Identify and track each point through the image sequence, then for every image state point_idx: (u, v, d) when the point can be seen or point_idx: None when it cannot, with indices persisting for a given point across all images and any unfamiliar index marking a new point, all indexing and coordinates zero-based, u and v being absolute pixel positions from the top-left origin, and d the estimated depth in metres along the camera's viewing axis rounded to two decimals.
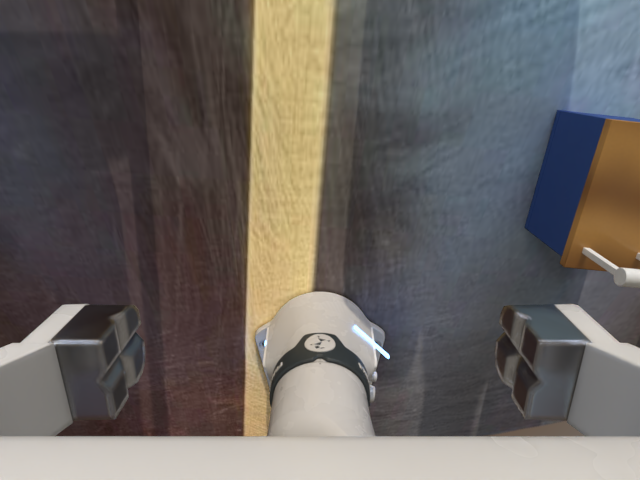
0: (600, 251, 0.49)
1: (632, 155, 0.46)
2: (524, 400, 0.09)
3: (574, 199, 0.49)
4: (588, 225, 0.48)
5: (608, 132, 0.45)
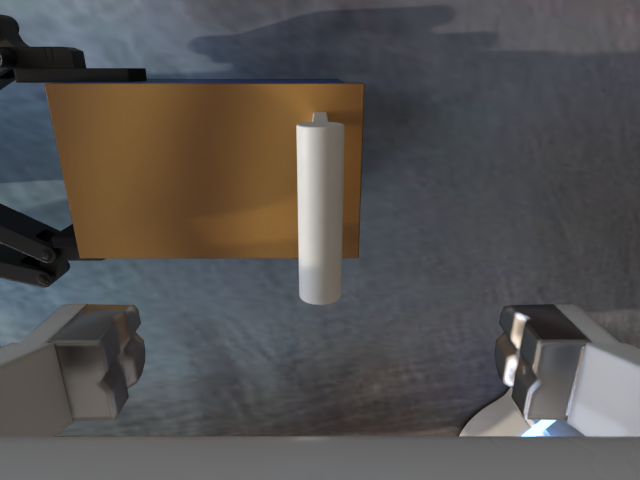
0: None
1: (127, 204, 0.25)
2: (525, 401, 0.09)
3: None
4: (270, 239, 0.25)
5: None
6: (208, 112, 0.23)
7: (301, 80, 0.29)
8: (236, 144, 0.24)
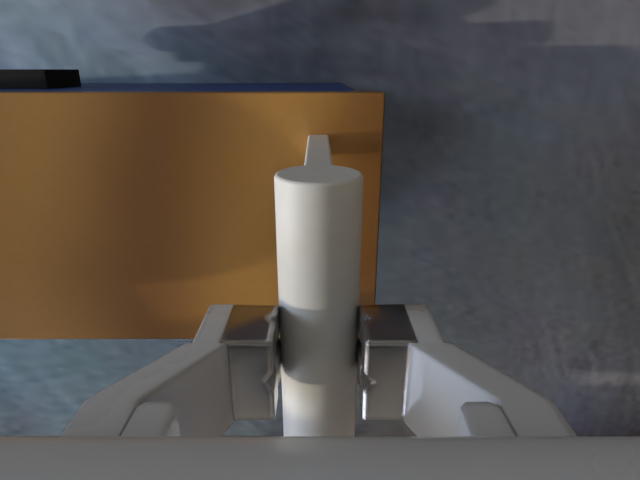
0: None
1: (39, 266, 0.17)
2: (362, 400, 0.09)
3: None
4: None
5: (7, 338, 0.18)
6: (151, 135, 0.15)
7: (293, 85, 0.22)
8: (194, 182, 0.16)
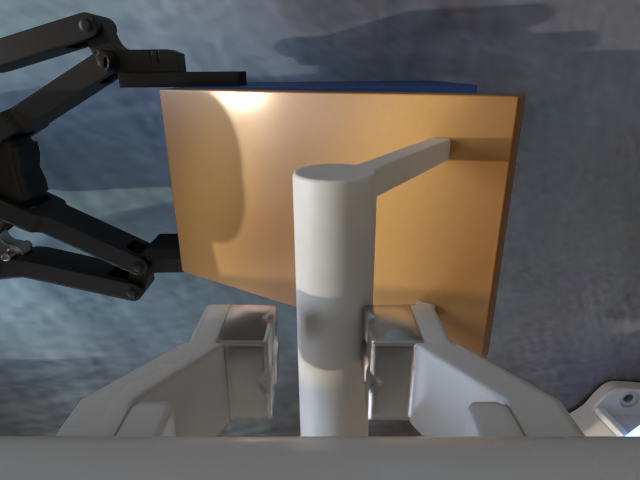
0: (429, 270, 0.17)
1: (219, 225, 0.22)
2: (368, 400, 0.09)
3: None
4: None
5: (197, 275, 0.24)
6: (299, 129, 0.18)
7: (404, 82, 0.28)
8: None
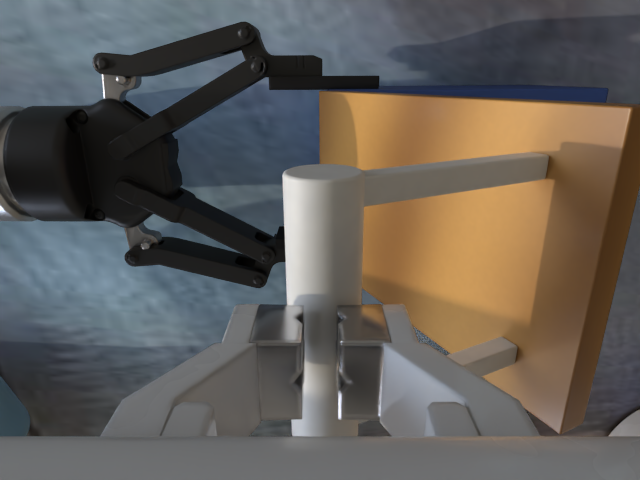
0: (515, 305, 0.14)
1: None
2: (338, 401, 0.09)
3: None
4: (448, 324, 0.17)
5: None
6: (412, 133, 0.17)
7: None
8: None
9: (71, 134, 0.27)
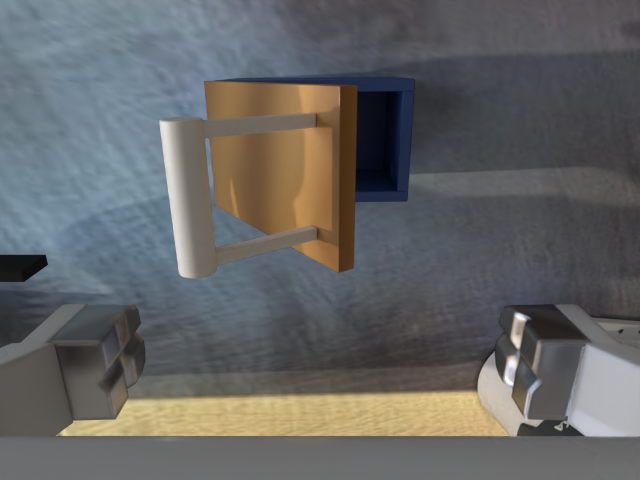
0: (313, 204, 0.25)
1: (229, 173, 0.33)
2: (524, 400, 0.09)
3: None
4: (287, 228, 0.27)
5: None
6: (258, 107, 0.27)
7: None
8: (270, 137, 0.27)
9: None
